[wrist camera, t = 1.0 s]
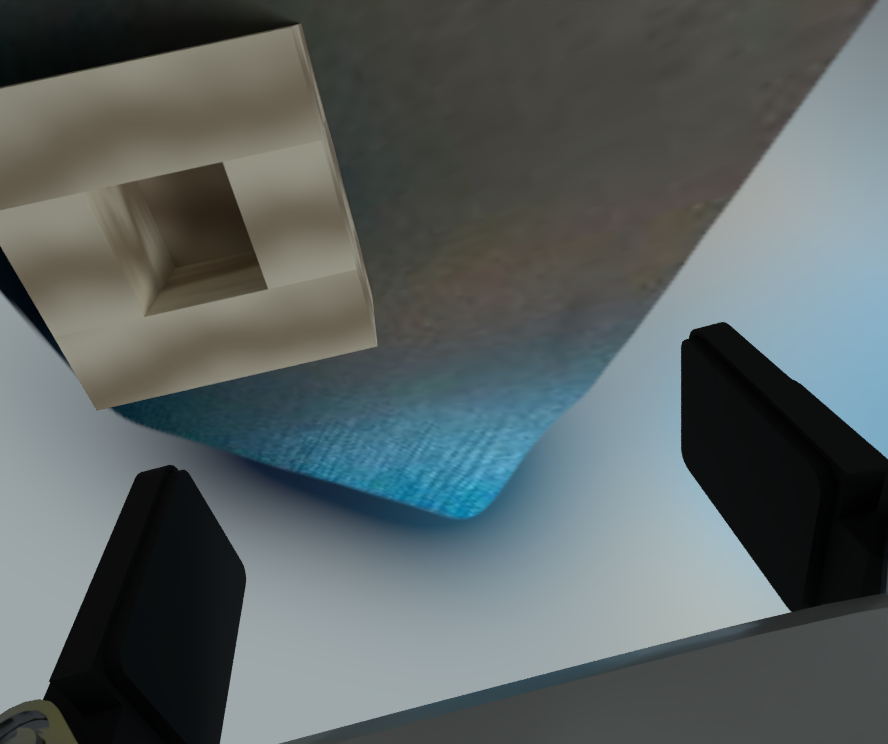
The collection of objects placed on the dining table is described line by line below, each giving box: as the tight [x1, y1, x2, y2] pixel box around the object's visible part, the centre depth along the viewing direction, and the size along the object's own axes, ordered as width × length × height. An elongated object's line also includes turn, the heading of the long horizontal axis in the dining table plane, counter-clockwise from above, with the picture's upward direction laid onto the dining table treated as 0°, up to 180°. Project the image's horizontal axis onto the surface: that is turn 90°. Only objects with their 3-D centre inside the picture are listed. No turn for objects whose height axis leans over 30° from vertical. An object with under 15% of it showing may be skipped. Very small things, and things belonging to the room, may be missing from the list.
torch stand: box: [0, 23, 377, 410], centre depth 38 cm, size 18×18×9 cm
